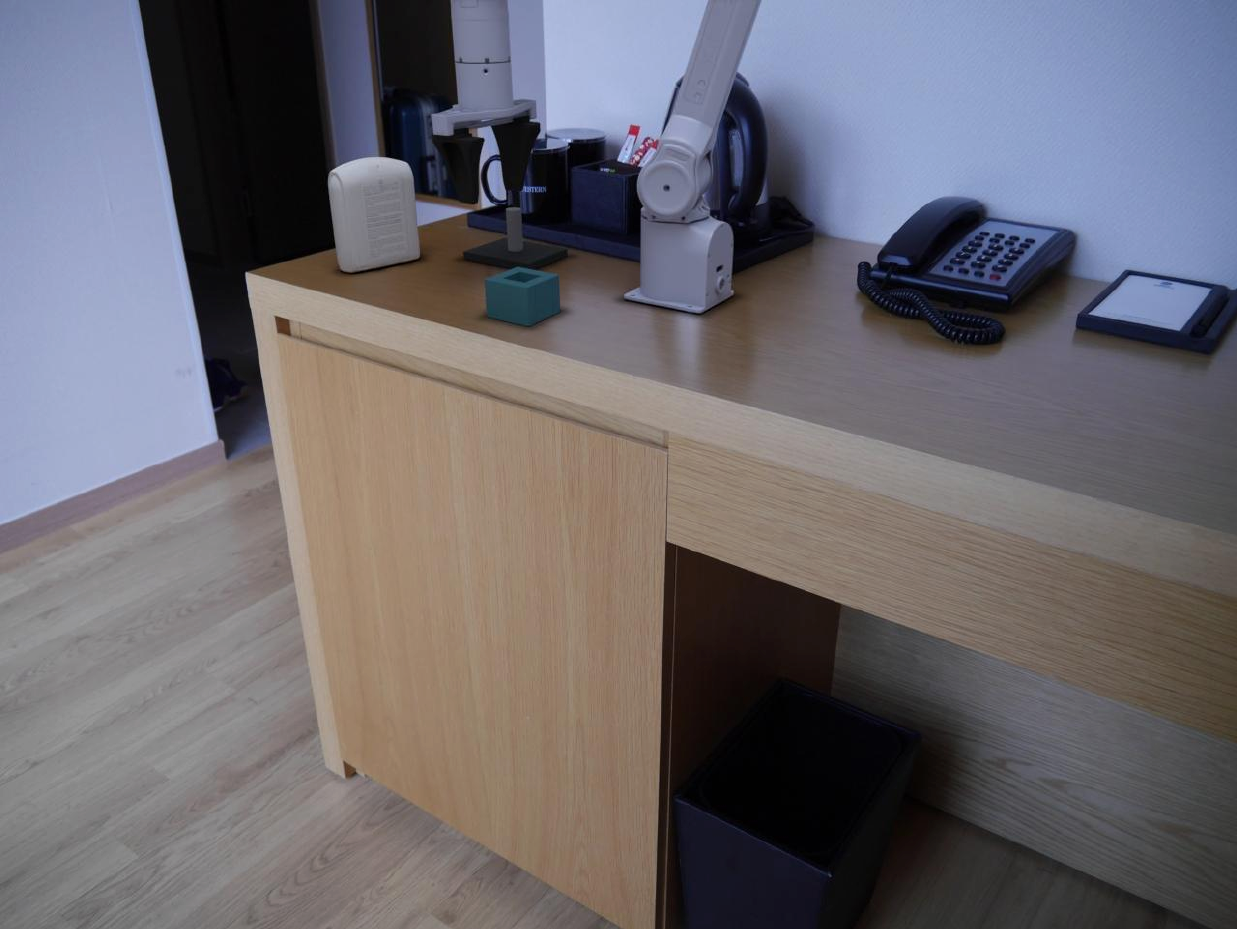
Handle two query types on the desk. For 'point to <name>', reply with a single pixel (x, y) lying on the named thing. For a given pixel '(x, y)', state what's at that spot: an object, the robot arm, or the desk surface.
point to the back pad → (515, 258)
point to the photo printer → (373, 213)
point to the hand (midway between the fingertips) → (491, 196)
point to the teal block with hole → (522, 296)
